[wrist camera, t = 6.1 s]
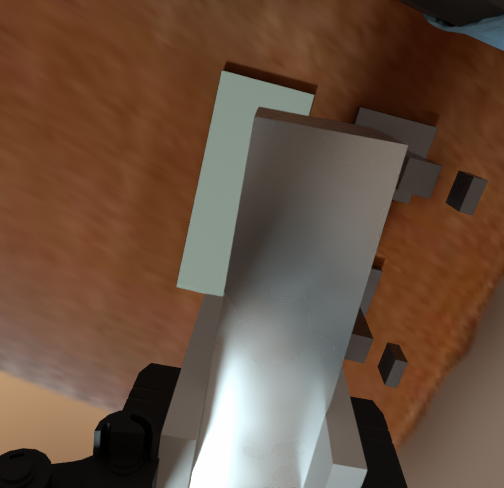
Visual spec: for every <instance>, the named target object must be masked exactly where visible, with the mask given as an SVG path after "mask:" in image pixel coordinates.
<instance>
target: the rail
mask: <svg viewBox="0 0 504 488" xmlns="http://www.w3.org/2000/svg"><path fill="white" fill-rule="evenodd" d="M407 148H408V145H407V144H405V143H403V142H401V141H399V140H397V139H395V138H393V137H391V136H389V135H387V134H385V133H383V132H381V131H379V130H377V129H375V128H370V127H365V126H360V125H354V124H349V123H344V122H338V121H333V120H328V119H322V118H317V117H312V116H307V115H301V114H296V113H291V112H285V111H280V110H275V109H269V108H264V107H258V109H257V111H256V114H255V116H254V121H253V126H252V132H251V138H250V144H249V150H248V155H247V161H246V167H245V173H244V179H243V184H242V190H241V196H240V202H239V208H238V213H237V219H236V225H235V231H234V237H233V242H232V248H231V254H230V260H229V266H228V271H227V277H226V283H225V289H224V294H223V300H222V306H221V312H220V318H219V323H218V329H217V335H216V341H215V347H214V352H213V358H212V364H211V370H210V376H209V381H208V387H207V393H206V399H205V405H204V410H203V416H202V422H201V428H200V434H199V439H198V445H197V451H196V457H195V463H194V468H193V474H192V480H191V486H190V488H303V486H304V483H305V480H306V476H307V473H308V470H309V466H310V463H311V460H312V456H313V453H314V450H315V446H316V443H317V440H318V436H319V433H320V430H321V426H322V423H323V419H324V416H325V414H327V413H328V410H329V407H330V403H331V400H332V397H333V393H334V390H335V387H336V383H337V380H338V377H339V374H340V370H341V367H342V364H343V360H344V357H345V354H346V350H347V347H348V344H349V340H350V337H351V334H352V330H353V327H354V324H355V320H356V317H357V314H358V310H359V307H360V304H361V300H362V297H363V294H364V290H365V287H366V284H367V280H368V277H369V274H370V270H371V267H372V264H373V261H374V257H375V254H376V251H377V247H378V244H379V241H380V237H381V234H382V231H383V227H384V224H385V221H386V217H387V214H388V211H389V207H390V204H391V201H392V197H393V194H394V191H395V187H396V184H397V181H398V177H399V174H400V171H401V167H402V164H403V161H404V158H405V154H406V151H407Z"/></svg>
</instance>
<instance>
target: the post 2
mask: <svg viewBox="0 0 504 488" xmlns="http://www.w3.org/2000/svg"><path fill="white" fill-rule="evenodd" d="M353 124H354V125H360V126H365V127H370V128H375V129H377V130H379V131H381V132H383V133H385V134H387V135H389V136H391V137H393V138H395V139H397V140H399V141H401V142H403V143H405V144H407V145H408V148H407V151H406V154H405V158H404V161H403V164H402V167H401V171H400V174H399V177H398V181H397V184H396V187H395V191H394V194H393V197H392V200H396V201H400V202H404V203H407V204H409V201H410V199H411V196H412V194H414V195H417V196H421V197H425V198H429V199H430V197H431V194H432V192H433V189H434V187H435V184H436V182H437V179H438V176H439V174H440V171H441V169H442V166H441V165H439V164H437V163H435V162H433V161H430V160H428V159H426V157H427V154H428V152H429V149H430V147H431V144H432V141H433V139H434V136H435V134H436V131H437V128H436V127H433V126H429V125H425V124H421V123H418V122H414V121H410V120H406V119H403V118H399V117H395V116H391V115H388V114H384V113H380V112H376V111H373V110H369V109H365V108H361V107H358V110H357V113H356V116H355V119H354V122H353ZM487 182H488V181H487V180H485V179H483V178H480V177H478V176H476V175H473V174H471V173H467V172H463V171H458V174H457V176H456V179H455V181H454V183H453V186H452V188H451V191H450V193H449V196H448V198H447V200H446V203H447V204H448V205H450V206H451V207H453V208H454V209H456V210H457V211H459V212H462V213H466V214H470V215H473V213H474V211H475V209H476V207H477V204H478V202H479V200H480V198H481V195H482V193H483V191H484V188H485V186H486V184H487Z"/></svg>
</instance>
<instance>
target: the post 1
mask: <svg viewBox="0 0 504 488" xmlns="http://www.w3.org/2000/svg"><path fill="white" fill-rule="evenodd" d="M381 274H382V270H381V268H380V267H376V266H372V267H371V270H370V274H369V277H368V280H367V284H366V287H365V290H364V294H363V297H362V300H361V304H360V307H359V310H358V314H357V317H356V320H355V324H354V327H353V330H352V334H351V337H350V340H349V344H348V347H347V350H346V354H345V357H344V359H348V360H352V361H356V362H360V363H364V362H365V359H366V357H367V354H368V352H369V349H370V347H371V344H372V342H373V337H372V334H371V332H370V329H369V327H368V324H367V322H366V320H365V316H366V313H367V310H368V308H369V305H370V303H371V300H372V297H373V295H374V292H375V290H376V287H377V284H378V282H379V279H380V277H381ZM407 363H408V362H407V360H406V358H405V356H404V354H403V352H402V350H401V348H400V346H399V345H397V344H392V343H387V345H386V348H385V350H384V353H383V355H382V357H381V360H380V362H379V365H378V369H379V371H380V374H381V377H382V379H383V382H384V384H385V385H386V386H391V387H395V388H397V386H398V384H399V381H400V379H401V377H402V375H403V372H404V370H405V368H406V366H407Z"/></svg>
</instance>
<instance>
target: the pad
mask: <svg viewBox="0 0 504 488" xmlns="http://www.w3.org/2000/svg"><path fill="white" fill-rule="evenodd" d="M313 98H314V95H312V94H309V93H305V92H301V91H297V90H294V89H290V88H286V87H282V86H279V85H275V84H271V83H267V82H264V81H260V80H256V79H252V78H249V77H245V76H241V75H237V74H234V73H230V72H226V71H222V73H221V78H220V83H219V88H218V92H217V97H216V102H215V107H214V111H213V116H212V121H211V126H210V130H209V135H208V140H207V145H206V149H205V154H204V159H203V164H202V168H201V173H200V178H199V183H198V187H197V192H196V197H195V202H194V206H193V211H192V216H191V221H190V225H189V230H188V235H187V240H186V244H185V249H184V254H183V259H182V263H181V268H180V273H179V278H178V282H177V287H179V288H183V289H187V290H192V291H196V292H200V293H204V294H205V293H206V294H211V295H217V296H222V297H223V294H224V289H225V283H226V277H227V271H228V266H229V260H230V254H231V248H232V242H233V237H234V231H235V225H236V219H237V213H238V208H239V202H240V196H241V190H242V184H243V179H244V173H245V167H246V161H247V155H248V150H249V144H250V138H251V132H252V126H253V121H254V116H255V114H256V111H257V109H258V107H264V108H269V109H275V110H280V111H285V112H291V113H296V114H301V115H307V116H309V113H310V109H311V105H312V102H313Z"/></svg>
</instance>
